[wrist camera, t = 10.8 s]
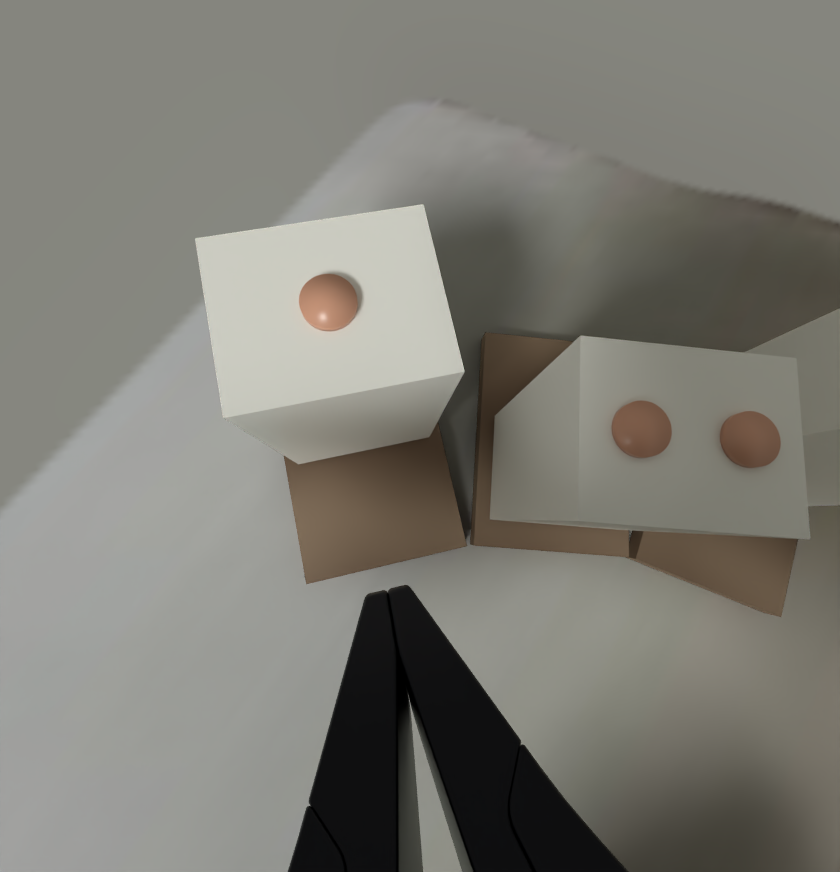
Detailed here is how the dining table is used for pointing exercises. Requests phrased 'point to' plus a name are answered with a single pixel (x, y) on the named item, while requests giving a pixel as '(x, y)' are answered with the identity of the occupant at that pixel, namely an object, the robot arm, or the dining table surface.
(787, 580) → the tile tracks
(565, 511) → the two-bump white pillar
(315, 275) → the white pillar with knob
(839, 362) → the three-dot tile
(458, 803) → the robot arm
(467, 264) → the dining table surface
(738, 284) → the dining table surface
